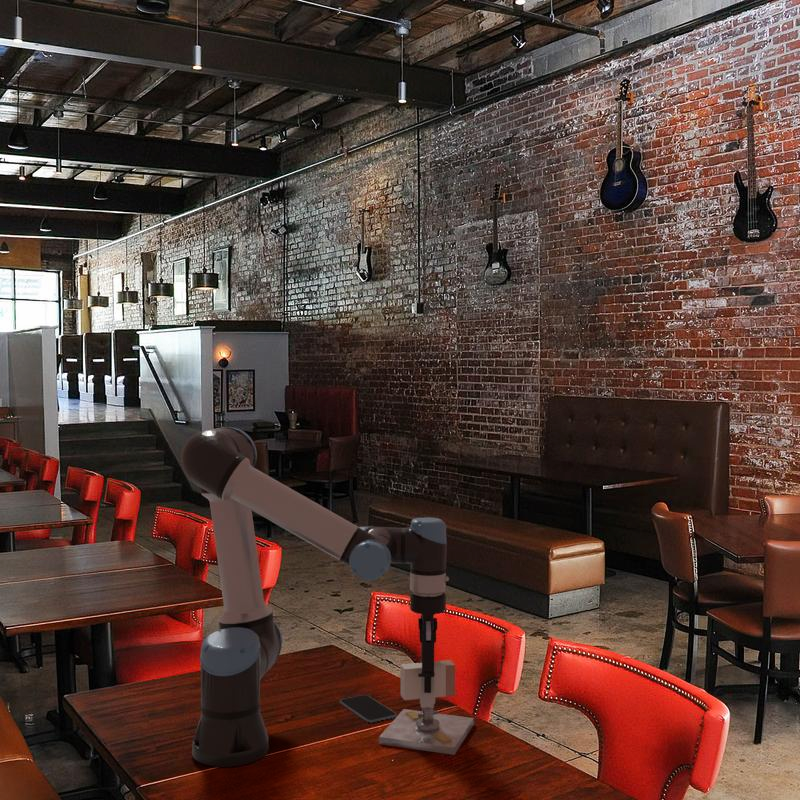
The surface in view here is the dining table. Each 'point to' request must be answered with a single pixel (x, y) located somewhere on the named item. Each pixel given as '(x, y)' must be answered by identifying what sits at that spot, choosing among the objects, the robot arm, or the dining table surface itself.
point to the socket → (427, 731)
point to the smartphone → (367, 708)
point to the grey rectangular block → (442, 680)
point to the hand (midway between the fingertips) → (426, 702)
